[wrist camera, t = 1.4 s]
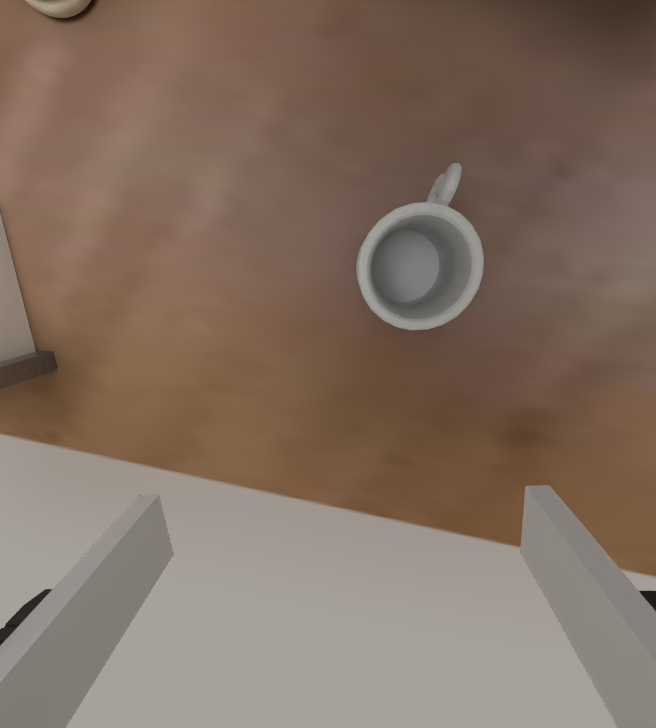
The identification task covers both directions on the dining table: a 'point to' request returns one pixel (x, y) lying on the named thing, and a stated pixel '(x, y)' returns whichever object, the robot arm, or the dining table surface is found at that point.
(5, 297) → the socket block
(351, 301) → the dining table surface
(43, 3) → the stacking toy
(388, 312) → the mug
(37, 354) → the grey rectangular frame
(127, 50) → the dining table surface
